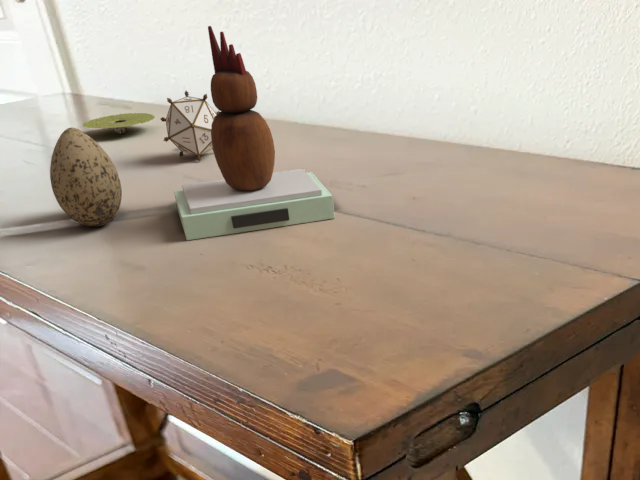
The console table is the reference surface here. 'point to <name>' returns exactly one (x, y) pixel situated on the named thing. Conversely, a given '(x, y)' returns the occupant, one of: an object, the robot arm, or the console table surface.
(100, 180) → the decorative egg
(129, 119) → the olive green flat disc
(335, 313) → the console table surface
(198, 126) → the game die
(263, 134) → the wooden figurine
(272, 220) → the kitchen scale
